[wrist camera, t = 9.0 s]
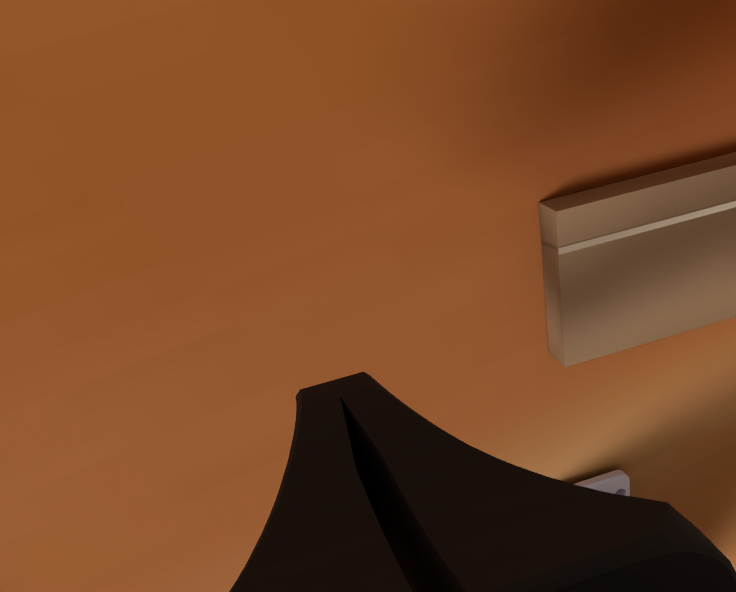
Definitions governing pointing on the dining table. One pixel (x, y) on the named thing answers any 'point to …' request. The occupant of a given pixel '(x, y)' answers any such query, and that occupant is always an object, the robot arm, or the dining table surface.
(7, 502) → the dining table surface
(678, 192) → the board
